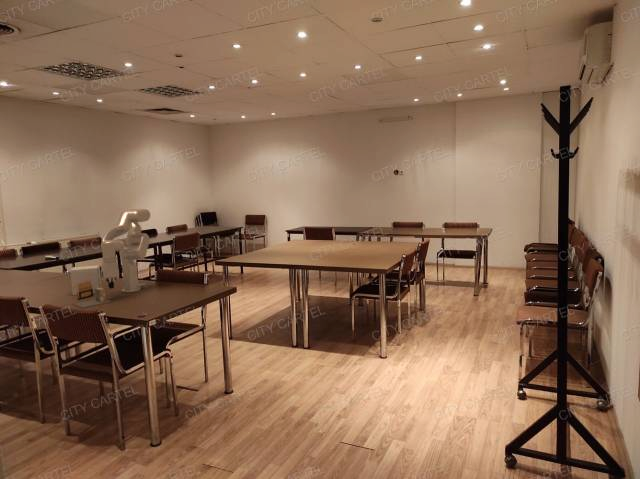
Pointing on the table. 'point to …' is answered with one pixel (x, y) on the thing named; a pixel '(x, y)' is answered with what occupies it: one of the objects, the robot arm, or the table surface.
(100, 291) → the birch tile
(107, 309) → the table surface
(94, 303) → the rubber mat
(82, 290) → the ammunition clip
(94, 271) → the supplement box
